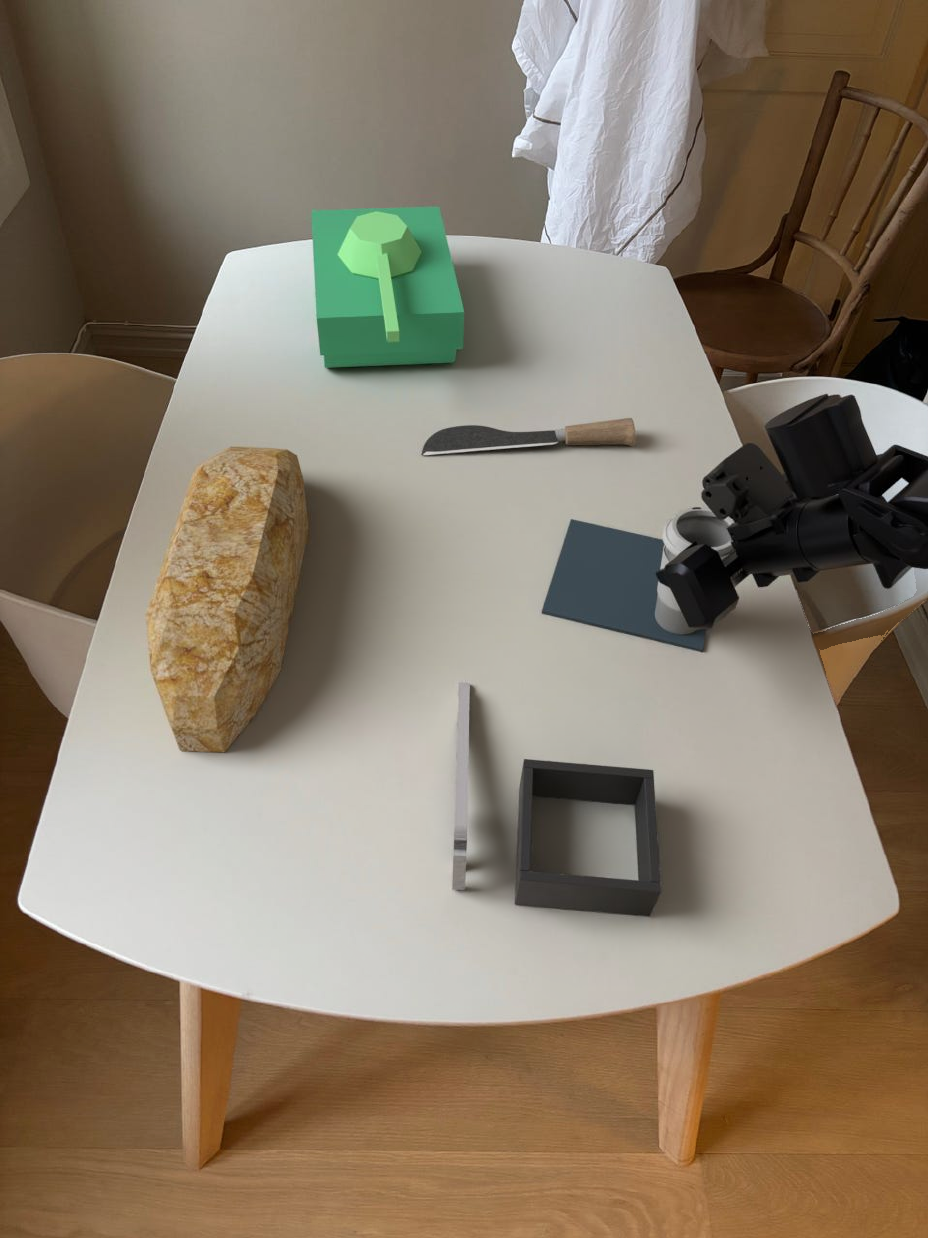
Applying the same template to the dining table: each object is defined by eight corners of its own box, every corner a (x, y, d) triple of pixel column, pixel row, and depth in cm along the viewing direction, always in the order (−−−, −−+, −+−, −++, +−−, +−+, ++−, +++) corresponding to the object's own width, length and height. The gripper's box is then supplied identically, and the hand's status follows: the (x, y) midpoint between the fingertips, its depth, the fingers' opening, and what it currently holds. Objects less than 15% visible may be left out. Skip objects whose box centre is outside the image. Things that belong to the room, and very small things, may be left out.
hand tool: (417, 419, 110) (626, 402, 112) (419, 440, 113) (624, 423, 114) (421, 447, 107) (637, 429, 108) (422, 468, 109) (634, 451, 110)
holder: (643, 797, 80) (653, 769, 76) (650, 917, 73) (661, 892, 70) (519, 787, 80) (523, 758, 77) (514, 905, 73) (519, 879, 70)
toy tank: (315, 326, 103) (308, 182, 126) (324, 417, 113) (316, 268, 135) (474, 319, 105) (439, 179, 128) (470, 409, 114) (438, 264, 137)
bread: (220, 476, 105) (205, 402, 97) (318, 481, 105) (310, 407, 97) (137, 748, 81) (108, 678, 74) (263, 754, 81) (248, 685, 74)
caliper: (465, 893, 74) (467, 857, 69) (451, 893, 74) (453, 856, 69) (469, 685, 87) (472, 643, 82) (458, 685, 87) (460, 642, 82)
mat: (717, 554, 100) (718, 551, 99) (702, 652, 91) (703, 649, 90) (570, 521, 102) (571, 518, 102) (541, 613, 93) (541, 610, 93)
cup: (703, 590, 96) (732, 501, 87) (722, 640, 91) (754, 551, 82) (635, 594, 95) (657, 505, 86) (651, 645, 90) (675, 556, 81)
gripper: (844, 396, 78) (705, 440, 91) (710, 496, 69) (578, 528, 82) (893, 515, 80) (751, 541, 93) (770, 627, 71) (632, 637, 85)
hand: (681, 558), depth 88 cm, fingers closed on cup, 7 cm apart
